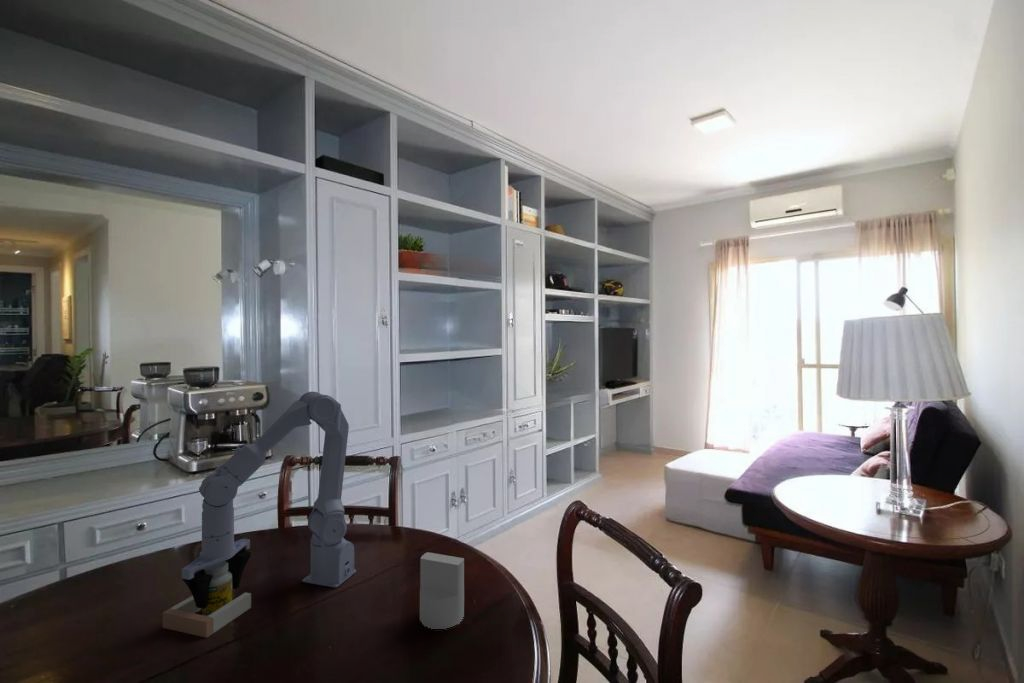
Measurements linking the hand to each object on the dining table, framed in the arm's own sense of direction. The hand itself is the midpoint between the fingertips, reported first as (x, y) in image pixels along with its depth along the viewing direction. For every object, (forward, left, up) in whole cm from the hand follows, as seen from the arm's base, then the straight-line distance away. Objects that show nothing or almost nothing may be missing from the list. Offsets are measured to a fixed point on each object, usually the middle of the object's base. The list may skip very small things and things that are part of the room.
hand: (218, 597), depth 99 cm
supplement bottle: (0, 0, -3) cm, 3 cm away
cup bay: (0, +2, -3) cm, 3 cm away
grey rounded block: (-45, -11, -3) cm, 47 cm away
